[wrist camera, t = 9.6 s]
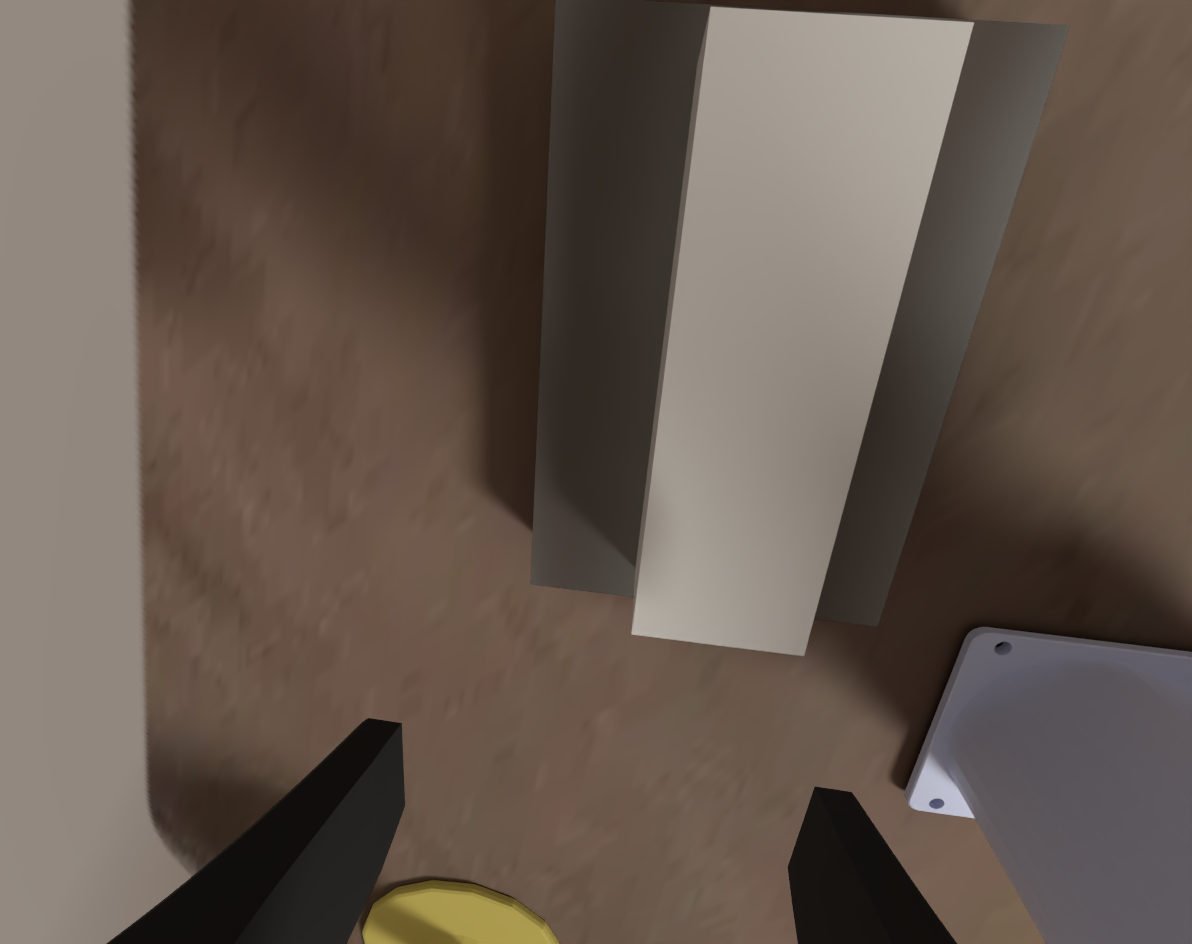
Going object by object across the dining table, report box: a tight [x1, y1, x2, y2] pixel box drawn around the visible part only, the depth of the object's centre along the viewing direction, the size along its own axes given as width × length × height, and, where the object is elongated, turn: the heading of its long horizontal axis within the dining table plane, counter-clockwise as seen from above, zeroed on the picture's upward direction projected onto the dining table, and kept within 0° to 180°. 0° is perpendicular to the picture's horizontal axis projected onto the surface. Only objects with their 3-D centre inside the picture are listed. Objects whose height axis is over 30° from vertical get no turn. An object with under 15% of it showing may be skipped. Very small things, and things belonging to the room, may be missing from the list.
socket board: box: [530, 0, 1070, 627], centre depth 15 cm, size 10×14×2 cm
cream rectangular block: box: [632, 7, 974, 656], centre depth 13 cm, size 4×12×6 cm, turn 176°
